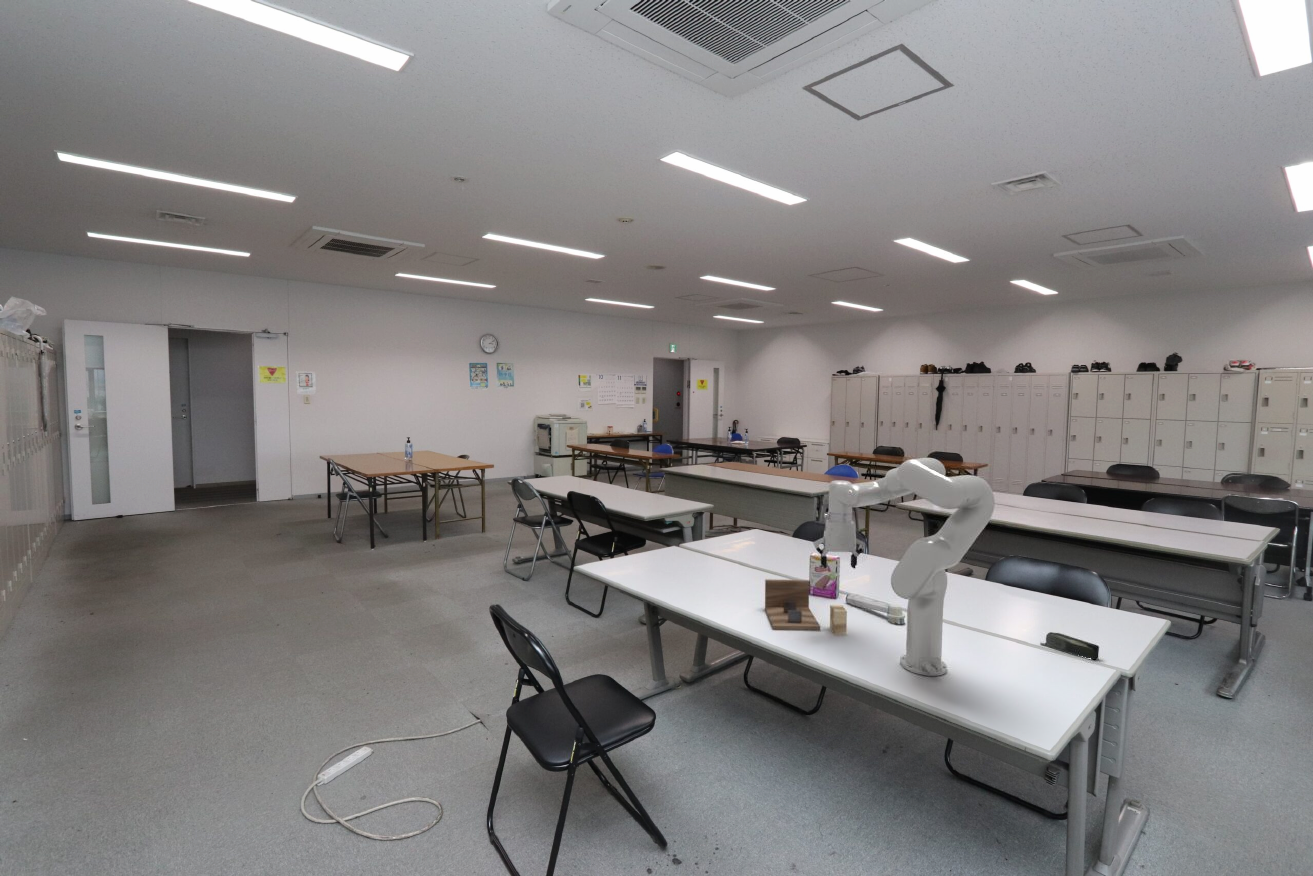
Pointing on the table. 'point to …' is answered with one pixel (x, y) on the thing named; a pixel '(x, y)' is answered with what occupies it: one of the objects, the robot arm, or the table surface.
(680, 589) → the table surface
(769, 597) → the wooden bookend
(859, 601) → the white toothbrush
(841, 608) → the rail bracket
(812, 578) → the candy bar box
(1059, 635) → the dark green stapler
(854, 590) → the table surface
